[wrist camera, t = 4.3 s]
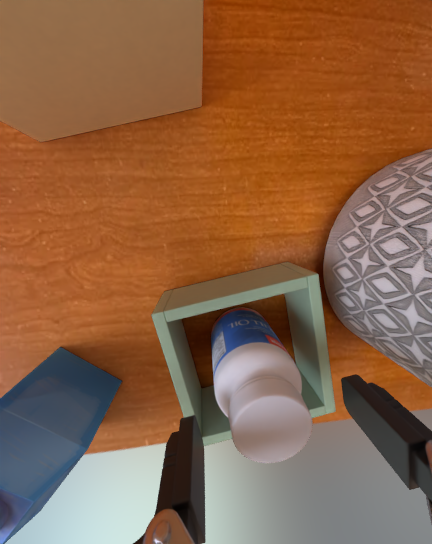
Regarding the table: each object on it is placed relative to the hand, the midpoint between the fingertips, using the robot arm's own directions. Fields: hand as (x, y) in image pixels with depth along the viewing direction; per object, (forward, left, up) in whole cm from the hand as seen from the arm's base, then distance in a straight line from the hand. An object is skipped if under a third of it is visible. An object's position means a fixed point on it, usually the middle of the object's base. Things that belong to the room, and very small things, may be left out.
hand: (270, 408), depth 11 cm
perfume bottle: (-16, -2, -9) cm, 18 cm away
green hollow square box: (0, 0, -9) cm, 9 cm away
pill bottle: (0, 0, -9) cm, 9 cm away
